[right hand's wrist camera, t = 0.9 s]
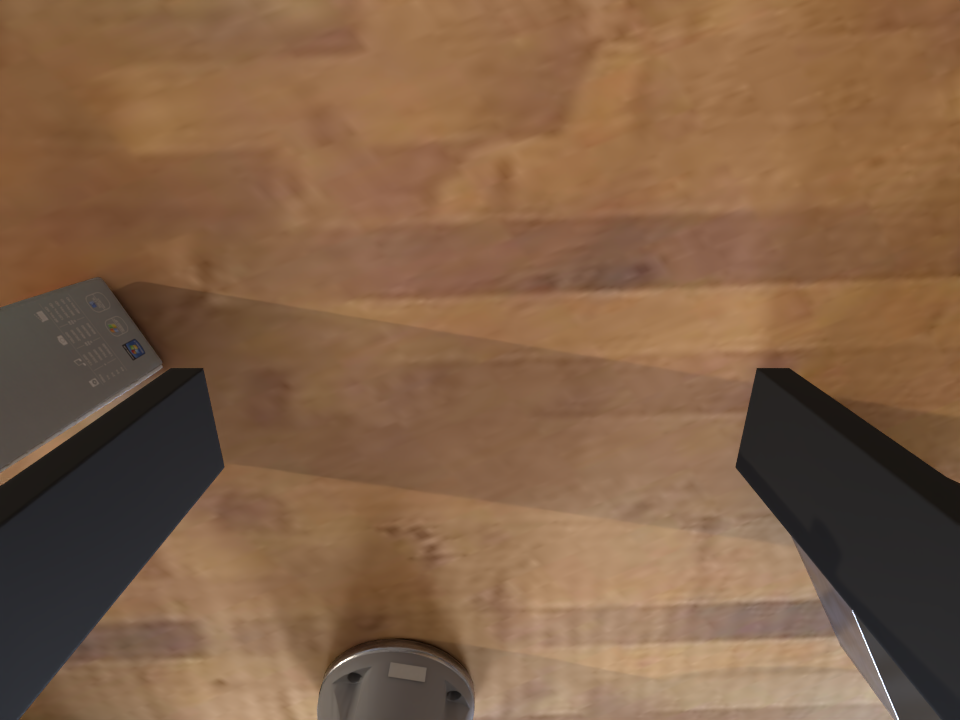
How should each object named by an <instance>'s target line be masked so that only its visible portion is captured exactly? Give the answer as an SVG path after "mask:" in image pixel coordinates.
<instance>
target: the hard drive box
mask: <svg viewBox="0 0 960 720" xmlns="http://www.w3.org/2000/svg"><path fill="white" fill-rule="evenodd" d="M161 364H162V360H161V359H160V358H159V357H158V355H157V354H156V352H155V351H154V349H153V348H152V347H151V345H150V344H149V343H148V341H147V340H146V339H145V337H144V336H143V334H142V333H141V332H140V330H139V329H138V327H137V326H136V325H135V323H134V322H133V320H132V319H131V318H130V316H129V315H128V314H127V312H126V311H125V309H124V308H123V307H122V305H121V304H120V302H119V301H118V300H117V298H116V297H115V295H114V294H113V293H112V291H111V290H110V289H109V287H108V286H107V284H106V283H105V282H104V281H103V279H102V278H100V277H96V278H93V279H89V280H86V281H83V282H80V283H76V284H73V285H70V286H66V287H63V288H60V289H57V290H54V291H50V292H47V293H44V294H41V295H38V296H35V297H32V298H28V299H25V300H22V301H19V302H16V303H13V304H10V305H7V306H4V307H1V308H0V473H1V472H2V471H4V470H5V469H7V468H8V467H10V466H12V465H13V464H15V463H16V462H18V461H19V460H21V459H22V458H24V457H26V456H27V455H29V454H30V453H32V452H33V451H35V450H36V449H38V448H40V447H41V446H43V445H44V444H46V443H47V442H49V441H50V440H52V439H54V438H55V437H57V436H58V435H60V434H61V433H63V432H64V431H66V430H68V429H69V428H71V427H72V426H74V425H75V424H77V423H79V422H80V421H82V420H83V419H85V418H86V417H88V416H89V415H91V414H93V413H94V412H96V411H97V410H99V409H100V408H102V407H104V406H105V405H107V404H108V403H110V402H111V401H113V400H114V399H116V398H117V397H119V396H121V395H122V394H124V393H125V392H127V391H128V390H130V389H132V388H133V387H135V386H136V385H138V384H139V383H141V382H142V381H144V380H145V379H147V378H148V377H150V376H151V375H153V374H154V373H156V372H157V371H159V370H160V369H161V368H162V367H163V366H162V365H161Z"/></svg>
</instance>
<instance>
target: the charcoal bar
mask: <svg viewBox="0 0 960 720" xmlns="http://www.w3.org/2000/svg"><path fill="white" fill-rule="evenodd" d="M792 538H793V537H792ZM793 541H794V543H795V545H796V547H797V550H798V552H799V554H800V556H801V558H802V561H803V563H804V565H805V567H806V570H807V572H808V574H809V576H810V578H811V581H812V583H813V585H814V587H815V590H816V592H817V594H818V596H819V599H820V601H821V603H822V605H823V607H824V610H825V612H826V614H827V616H828V619H829V621H830V623H831V625H832V627H833V630H834V632H835V634H836V636H837V639H838V641H839V643H840V645H841V647H842V648H843V650H844V651H845V652H846V654H847V655H848V656H849V658H850V659H851V661H852V662H853V663H854V665H855V666H856V667H857V669H858V670H859V672H860V673H861V674H862V676H863V677H864V679H865V680H866V681H867V683H868V684H869V685H870V687H871V688H872V690H873V691H874V692H875V694H876V695H877V696H878V698H879V699H880V701H881V702H882V703H883V705H884V706H885V707H886V709H887V710H888V712H889V713H890V714H891V716H892V717H893V718H894V720H941V719H940V717H939V716H938V715H937V714H936V713H935V711H934V710H933V709H932V708H931V706H930V705H929V704H928V703H927V702H926V700H925V699H924V698H923V697H922V695H921V694H920V693H919V692H918V691H917V689H916V688H915V687H914V686H913V684H912V683H911V682H910V681H909V679H908V678H907V677H906V676H905V675H904V673H903V672H902V671H901V670H900V668H899V667H898V666H897V665H896V664H895V662H894V661H893V660H892V659H891V657H890V656H889V655H888V654H887V652H886V651H885V650H884V649H883V648H882V646H881V645H880V644H879V643H878V641H877V640H876V639H875V638H874V637H873V635H872V634H871V633H870V632H869V630H868V629H867V628H866V627H865V625H864V624H863V623H862V622H861V621H860V619H859V618H858V617H857V616H856V614H855V613H854V612H853V611H852V610H851V608H850V607H849V606H848V605H847V603H846V602H845V601H844V600H843V599H842V597H841V596H840V595H839V594H838V592H837V591H836V590H835V589H834V587H833V586H832V585H831V584H830V583H829V581H828V580H827V579H826V578H825V576H824V575H823V574H822V573H821V572H820V570H819V569H818V568H817V567H816V565H815V564H814V563H813V562H812V560H811V559H810V558H809V557H808V556H807V554H806V553H805V552H804V551H803V549H802V548H801V547H800V546H799V545H798V543H797V542H796V541H795V540H794V538H793Z"/></svg>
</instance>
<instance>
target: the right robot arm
mask: <svg viewBox="0 0 960 720" xmlns="http://www.w3.org/2000/svg"><path fill="white" fill-rule="evenodd" d="M223 468H224V463H223V458H222V453H221V449H220V444H219V440H218V435H217V430H216V426H215V421H214V416H213V412H212V407H211V403H210V398H209V393H208V389H207V384H206V379H205V375H204V370H203V368H170V369H169V370H168V371H166V372H165V373H163V374H162V375H160V376H159V377H157V378H156V379H155V380H153V381H152V382H150V383H149V384H147V385H146V386H144V387H143V388H142V389H140V390H139V391H137V392H136V393H134V394H133V395H131V396H130V397H129V398H127V399H126V400H124V401H123V402H121V403H120V404H118V405H117V406H116V407H114V408H113V409H111V410H110V411H108V412H107V413H105V414H104V415H103V416H101V417H100V418H98V419H97V420H95V421H94V422H93V423H91V424H90V425H88V426H87V427H85V428H84V429H82V430H81V431H80V432H78V433H77V434H75V435H74V436H72V437H71V438H69V439H68V440H67V441H65V442H64V443H62V444H61V445H59V446H58V447H56V448H55V449H54V450H52V451H51V452H49V453H48V454H46V455H45V456H43V457H42V458H41V459H39V460H38V461H36V462H35V463H33V464H32V465H30V466H29V467H28V468H26V469H25V470H23V471H22V472H20V473H19V474H18V475H16V476H15V477H13V478H12V479H10V480H9V481H7V482H6V483H5V484H3V485H1V486H0V720H19V719H20V717H21V716H22V715H23V714H24V713H25V711H26V710H27V709H28V708H29V706H30V705H31V704H32V703H33V702H34V700H35V699H36V698H37V697H38V695H39V694H40V693H41V692H42V691H43V689H44V688H45V687H46V686H47V684H48V683H49V682H50V681H51V679H52V678H53V677H54V676H55V675H56V673H57V672H58V671H59V670H60V668H61V667H62V666H63V665H64V664H65V662H66V661H67V660H68V659H69V657H70V656H71V655H72V654H73V652H74V651H75V650H76V649H77V648H78V646H79V645H80V644H81V643H82V641H83V640H84V639H85V638H86V637H87V635H88V634H89V633H90V632H91V630H92V629H93V628H94V627H95V625H96V624H97V623H98V622H99V621H100V619H101V618H102V617H103V616H104V614H105V613H106V612H107V611H108V610H109V608H110V607H111V606H112V605H113V603H114V602H115V601H116V600H117V599H118V597H119V596H120V595H121V594H122V592H123V591H124V590H125V589H126V587H127V586H128V585H129V584H130V583H131V581H132V580H133V579H134V578H135V576H136V575H137V574H138V573H139V572H140V570H141V569H142V568H143V567H144V565H145V564H146V563H147V562H148V560H149V559H150V558H151V557H152V556H153V554H154V553H155V552H156V551H157V549H158V548H159V547H160V546H161V545H162V543H163V542H164V541H165V540H166V538H167V537H168V536H169V535H170V534H171V532H172V531H173V530H174V529H175V527H176V526H177V525H178V524H179V522H180V521H181V520H182V519H183V518H184V516H185V515H186V514H187V513H188V511H189V510H190V509H191V508H192V507H193V505H194V504H195V503H196V502H197V500H198V499H199V498H200V497H201V495H202V494H203V493H204V492H205V491H206V489H207V488H208V487H209V486H210V484H211V483H212V482H213V481H214V480H215V478H216V477H217V476H218V475H219V473H220V472H221V471H222V470H223ZM736 468H737V470H738V471H739V472H740V473H741V475H742V476H743V477H744V478H745V480H746V481H747V482H748V483H749V484H750V486H751V487H752V488H753V489H754V491H755V492H756V493H757V494H758V495H759V497H760V498H761V499H762V500H763V502H764V503H765V504H766V505H767V507H768V508H769V509H770V510H771V511H772V513H773V514H774V515H775V516H776V518H777V519H778V520H779V521H780V522H781V524H782V525H783V526H784V527H785V529H786V530H787V531H788V532H789V534H790V535H791V536H792V537H793V538H794V540H795V541H796V542H797V543H798V545H799V546H800V547H801V548H802V549H803V551H804V552H805V553H806V554H807V556H808V557H809V558H810V559H811V560H812V562H813V563H814V564H815V565H816V567H817V568H818V569H819V570H820V572H821V573H822V574H823V575H824V576H825V578H826V579H827V580H828V581H829V583H830V584H831V585H832V586H833V587H834V589H835V590H836V591H837V592H838V594H839V595H840V596H841V597H842V599H843V600H844V601H845V602H846V603H847V605H848V606H849V607H850V608H851V610H852V611H853V612H854V613H855V614H856V616H857V617H858V618H859V619H860V621H861V622H862V623H863V624H864V625H865V627H866V628H867V629H868V630H869V632H870V633H871V634H872V635H873V637H874V638H875V639H876V640H877V641H878V643H879V644H880V645H881V646H882V648H883V649H884V650H885V651H886V652H887V654H888V655H889V656H890V657H891V659H892V660H893V661H894V662H895V664H896V665H897V666H898V667H899V668H900V670H901V671H902V672H903V673H904V675H905V676H906V677H907V678H908V679H909V681H910V682H911V683H912V684H913V686H914V687H915V688H916V689H917V691H918V692H919V693H920V694H921V695H922V697H923V698H924V699H925V700H926V702H927V703H928V704H929V705H930V706H931V708H932V709H933V710H934V711H935V713H936V714H937V715H938V716H939V717H940V719H941V720H960V483H958V482H956V481H953V480H951V479H949V478H947V477H945V476H944V475H942V474H941V473H940V472H938V471H937V470H935V469H934V468H932V467H931V466H930V465H928V464H927V463H925V462H924V461H922V460H921V459H919V458H918V457H917V456H915V455H914V454H912V453H911V452H909V451H908V450H906V449H905V448H904V447H902V446H901V445H899V444H898V443H896V442H895V441H893V440H892V439H891V438H889V437H888V436H886V435H885V434H883V433H882V432H880V431H879V430H878V429H876V428H875V427H873V426H872V425H870V424H869V423H867V422H866V421H865V420H863V419H862V418H860V417H859V416H857V415H856V414H855V413H853V412H852V411H850V410H849V409H847V408H846V407H844V406H843V405H842V404H840V403H839V402H837V401H836V400H834V399H833V398H831V397H830V396H829V395H827V394H826V393H824V392H823V391H821V390H820V389H818V388H817V387H816V386H814V385H813V384H811V383H810V382H808V381H807V380H805V379H804V378H803V377H801V376H800V375H798V374H797V373H795V372H794V371H792V370H791V369H790V368H757V370H756V375H755V379H754V384H753V389H752V393H751V398H750V403H749V407H748V412H747V416H746V421H745V426H744V430H743V435H742V440H741V444H740V449H739V453H738V458H737V463H736ZM474 695H475V692H474V686H473V682H472V680H471V678H470V676H469V674H468V672H467V671H466V670H465V668H464V667H463V666H462V665H461V664H460V663H459V662H458V661H457V660H456V659H455V658H453V657H452V656H450V655H449V654H447V653H446V652H444V651H442V650H440V649H438V648H436V647H433V646H431V645H428V644H424V643H421V642H416V641H411V640H402V639H385V640H376V641H371V642H367V643H364V644H360V645H358V646H355V647H353V648H351V649H349V650H347V651H346V652H344V653H342V654H341V655H340V656H339V657H337V658H336V659H335V660H334V661H333V662H332V664H331V665H330V666H329V668H328V669H327V671H326V673H325V675H324V679H323V682H322V685H321V689H320V692H319V699H318V706H317V719H318V720H473V715H474Z"/></svg>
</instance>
